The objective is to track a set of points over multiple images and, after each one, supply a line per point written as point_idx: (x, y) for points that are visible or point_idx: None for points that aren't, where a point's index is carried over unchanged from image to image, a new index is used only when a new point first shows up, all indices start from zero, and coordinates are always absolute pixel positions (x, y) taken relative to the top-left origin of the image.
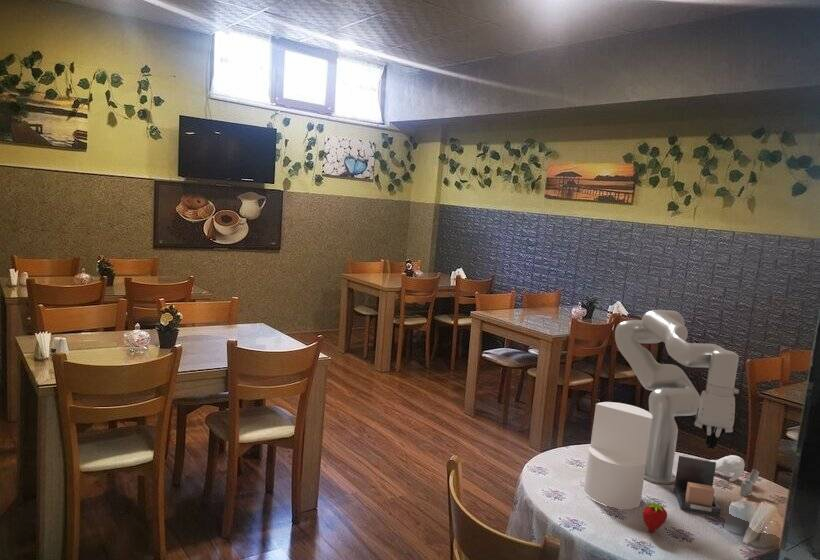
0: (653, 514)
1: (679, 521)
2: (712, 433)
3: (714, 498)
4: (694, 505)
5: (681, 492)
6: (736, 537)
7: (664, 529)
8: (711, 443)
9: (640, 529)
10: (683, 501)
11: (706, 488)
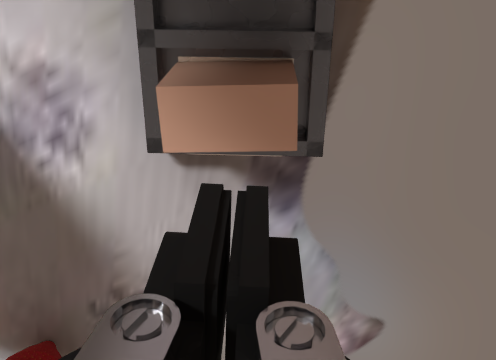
0: None
1: (142, 243)
2: (240, 295)
3: (327, 33)
4: (205, 154)
5: (153, 36)
6: (335, 280)
7: (89, 314)
8: (223, 326)
9: (15, 339)
10: (154, 146)
11: (255, 138)
